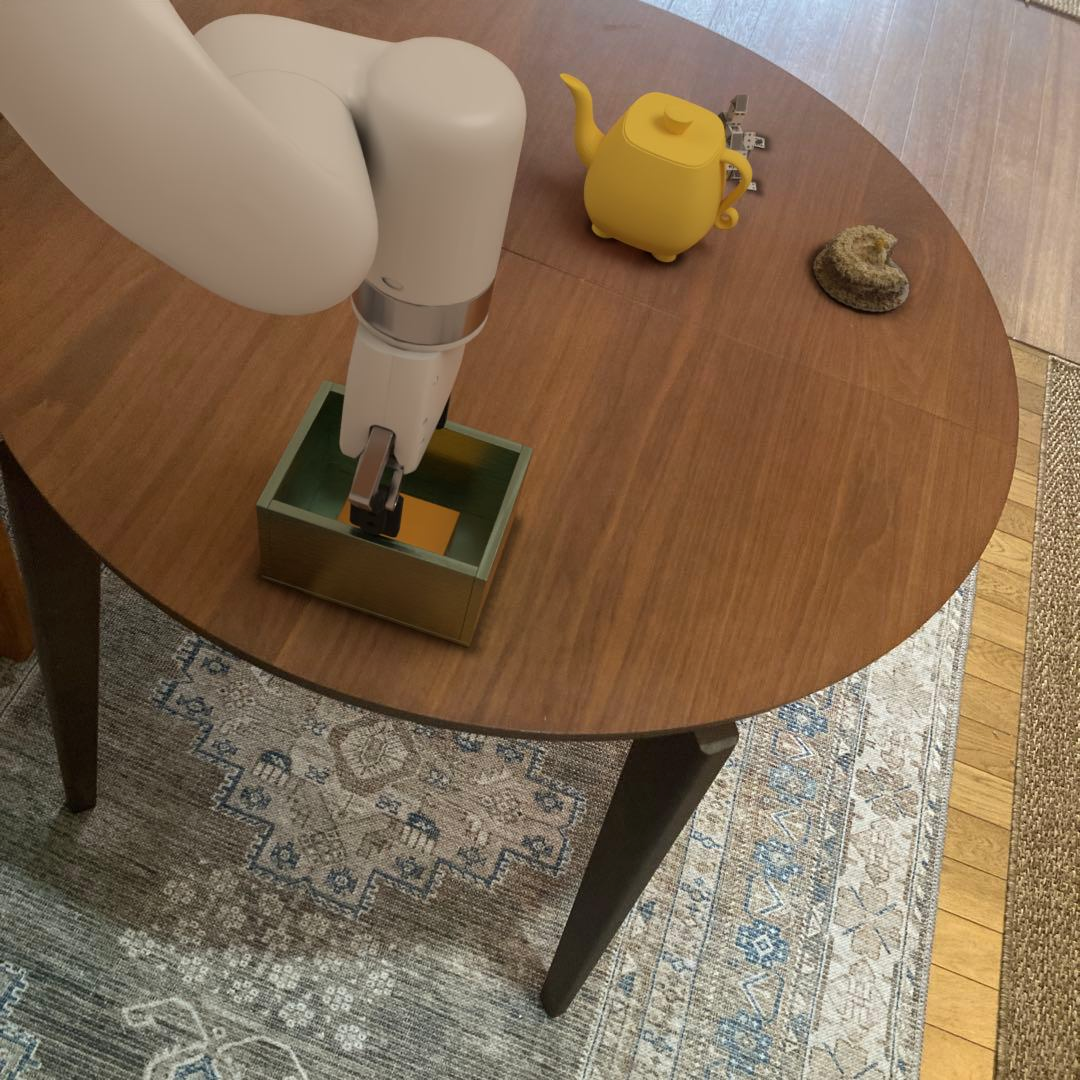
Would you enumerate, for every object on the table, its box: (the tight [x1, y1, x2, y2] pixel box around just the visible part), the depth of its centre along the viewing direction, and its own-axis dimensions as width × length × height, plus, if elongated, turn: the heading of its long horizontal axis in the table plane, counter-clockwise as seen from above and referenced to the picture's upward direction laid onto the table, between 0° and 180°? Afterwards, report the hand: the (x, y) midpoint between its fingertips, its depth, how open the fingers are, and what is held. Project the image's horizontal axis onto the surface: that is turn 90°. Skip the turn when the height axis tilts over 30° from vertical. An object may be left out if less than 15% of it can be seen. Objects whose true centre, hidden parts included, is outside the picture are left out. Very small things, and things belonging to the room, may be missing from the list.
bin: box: [255, 378, 534, 648], centre depth 74 cm, size 16×12×10 cm
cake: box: [812, 224, 911, 313], centre depth 102 cm, size 10×10×5 cm
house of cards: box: [717, 93, 765, 191], centre depth 108 cm, size 9×9×8 cm
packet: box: [337, 493, 460, 557], centre depth 76 cm, size 8×6×3 cm
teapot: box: [559, 72, 753, 263], centre depth 98 cm, size 14×20×13 cm
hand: (399, 472), depth 69 cm, fingers open, 9 cm apart
